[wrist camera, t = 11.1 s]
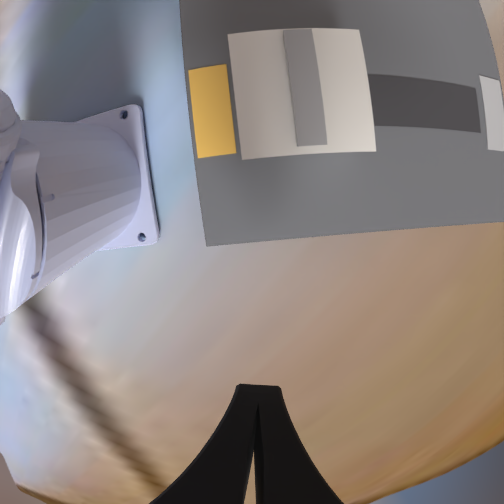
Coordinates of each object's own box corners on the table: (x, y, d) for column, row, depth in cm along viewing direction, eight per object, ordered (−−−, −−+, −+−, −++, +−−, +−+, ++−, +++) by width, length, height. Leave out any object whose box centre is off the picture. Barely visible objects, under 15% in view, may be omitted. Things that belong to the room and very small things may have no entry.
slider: (246, 158, 13) (240, 160, 10) (235, 56, 12) (225, 28, 9) (354, 150, 13) (381, 151, 10) (341, 51, 12) (363, 24, 8)
